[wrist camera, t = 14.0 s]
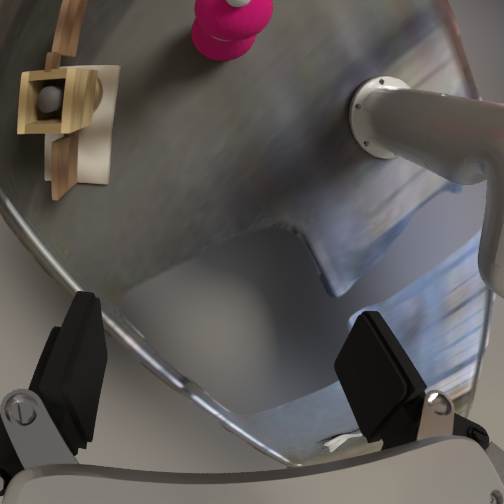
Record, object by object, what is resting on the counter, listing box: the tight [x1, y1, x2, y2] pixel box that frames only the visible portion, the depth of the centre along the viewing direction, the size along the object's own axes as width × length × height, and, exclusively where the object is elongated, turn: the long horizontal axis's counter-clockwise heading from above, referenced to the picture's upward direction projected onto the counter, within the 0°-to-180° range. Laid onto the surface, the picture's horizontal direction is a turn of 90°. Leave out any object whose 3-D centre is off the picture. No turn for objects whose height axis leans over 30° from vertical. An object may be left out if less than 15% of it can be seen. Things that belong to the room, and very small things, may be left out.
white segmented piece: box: [324, 433, 362, 452], centre depth 85 cm, size 9×32×4 cm, turn 116°
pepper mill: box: [191, 0, 273, 61], centre depth 23 cm, size 7×7×20 cm
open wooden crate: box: [17, 0, 98, 134], centre depth 24 cm, size 16×7×7 cm, turn 169°
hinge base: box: [37, 65, 121, 200], centre depth 30 cm, size 16×10×10 cm, turn 169°
